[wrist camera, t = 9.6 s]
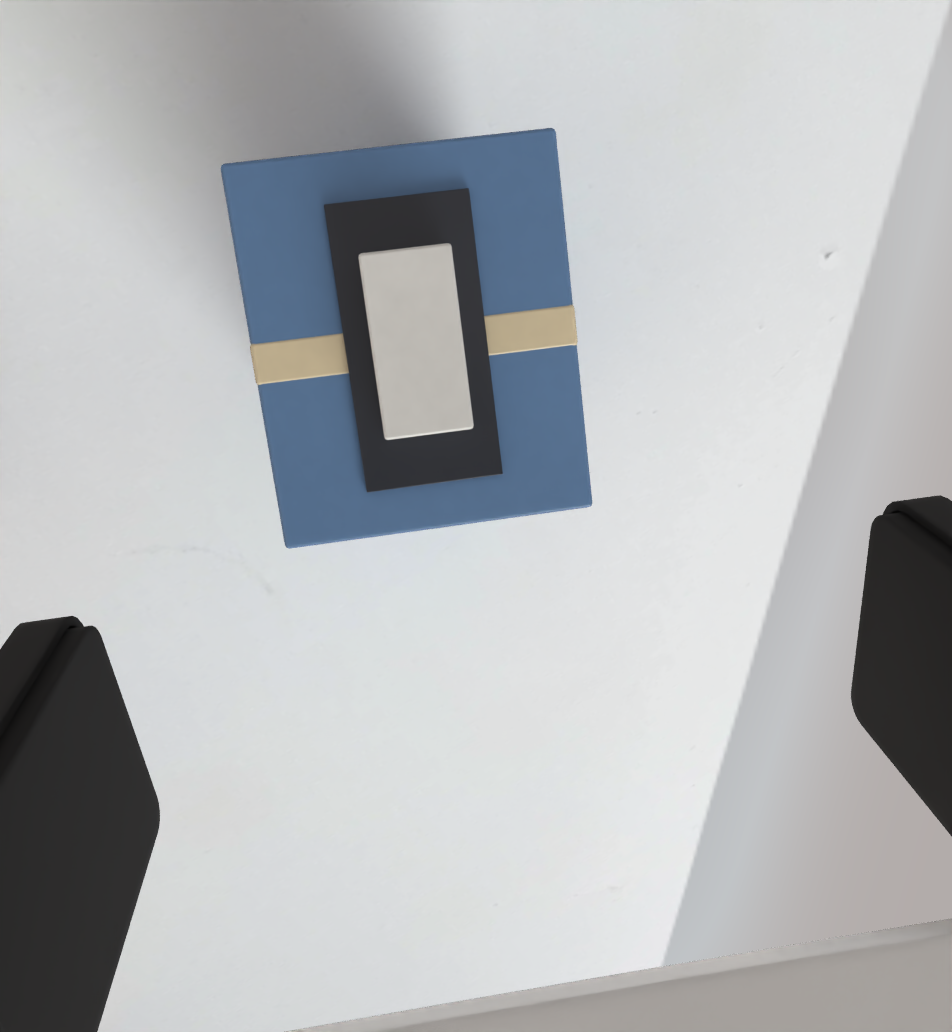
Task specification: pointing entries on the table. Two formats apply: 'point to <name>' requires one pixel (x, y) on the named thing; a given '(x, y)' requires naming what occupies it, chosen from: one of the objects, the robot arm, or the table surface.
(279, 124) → the table surface
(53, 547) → the table surface
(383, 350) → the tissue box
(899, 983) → the robot arm
